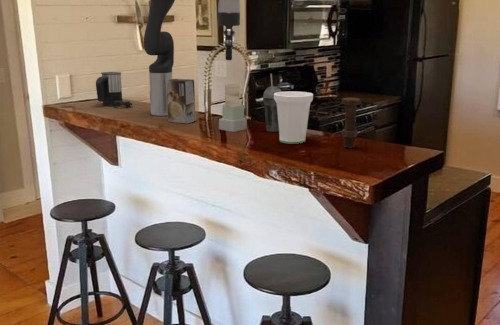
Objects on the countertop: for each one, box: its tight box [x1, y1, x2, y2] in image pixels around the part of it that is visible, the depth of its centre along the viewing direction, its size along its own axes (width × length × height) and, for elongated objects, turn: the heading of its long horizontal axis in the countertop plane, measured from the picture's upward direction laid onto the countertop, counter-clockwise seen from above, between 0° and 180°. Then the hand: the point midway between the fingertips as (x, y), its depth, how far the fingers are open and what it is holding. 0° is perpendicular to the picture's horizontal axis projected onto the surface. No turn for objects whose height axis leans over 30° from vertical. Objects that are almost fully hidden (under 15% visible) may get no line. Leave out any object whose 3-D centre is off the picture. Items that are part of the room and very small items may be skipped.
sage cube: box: [221, 104, 245, 121], centre depth 188 cm, size 6×6×5 cm
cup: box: [274, 90, 314, 145], centre depth 169 cm, size 12×12×15 cm
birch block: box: [224, 83, 240, 106], centre depth 187 cm, size 5×5×7 cm
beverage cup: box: [262, 73, 283, 133], centre depth 185 cm, size 7×7×20 cm
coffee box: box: [166, 78, 196, 125], centre depth 202 cm, size 9×6×16 cm
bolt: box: [340, 97, 362, 149], centre depth 161 cm, size 6×5×15 cm
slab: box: [218, 117, 248, 133], centre depth 190 cm, size 7×7×4 cm
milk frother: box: [95, 71, 133, 108], centre depth 239 cm, size 14×16×15 cm
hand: (228, 59), depth 187 cm, fingers open, 8 cm apart
